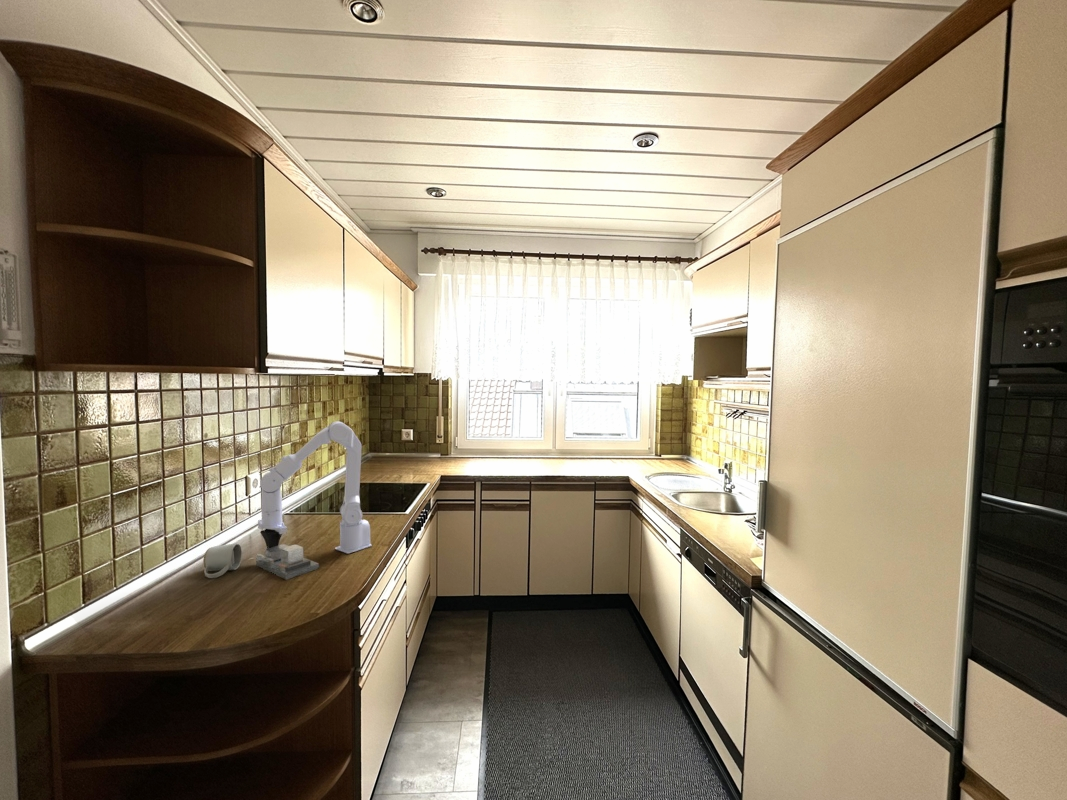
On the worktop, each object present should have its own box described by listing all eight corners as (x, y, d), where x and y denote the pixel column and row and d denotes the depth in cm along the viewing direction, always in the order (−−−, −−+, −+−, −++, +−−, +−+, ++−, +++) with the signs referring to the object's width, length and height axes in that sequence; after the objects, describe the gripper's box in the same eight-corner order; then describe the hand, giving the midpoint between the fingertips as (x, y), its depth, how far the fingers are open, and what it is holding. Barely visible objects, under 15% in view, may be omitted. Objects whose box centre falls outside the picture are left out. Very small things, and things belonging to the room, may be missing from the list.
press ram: (283, 553, 151) (283, 543, 151) (290, 555, 148) (290, 546, 148) (264, 558, 146) (264, 549, 146) (271, 561, 144) (270, 552, 143)
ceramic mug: (213, 565, 145) (212, 541, 144) (242, 563, 146) (241, 539, 146) (196, 580, 134) (195, 554, 134) (227, 578, 136) (226, 552, 136)
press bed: (286, 554, 154) (286, 546, 154) (318, 568, 143) (318, 558, 143) (254, 564, 146) (253, 555, 146) (286, 579, 135) (286, 569, 135)
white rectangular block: (303, 563, 143) (303, 547, 143) (288, 568, 139) (288, 551, 139) (295, 560, 145) (295, 544, 145) (281, 564, 142) (280, 548, 141)
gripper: (247, 509, 149) (248, 550, 150) (270, 516, 141) (271, 560, 142) (270, 504, 155) (271, 544, 156) (293, 511, 147) (293, 553, 147)
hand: (272, 551), depth 149 cm, fingers closed
